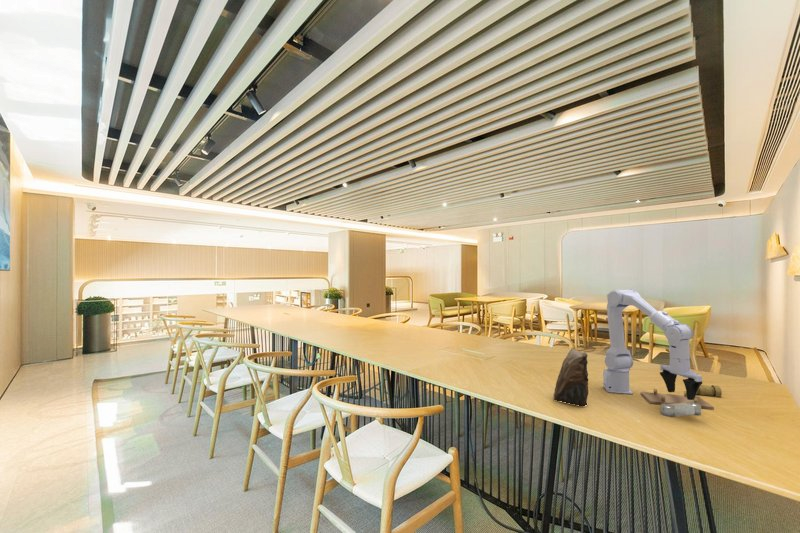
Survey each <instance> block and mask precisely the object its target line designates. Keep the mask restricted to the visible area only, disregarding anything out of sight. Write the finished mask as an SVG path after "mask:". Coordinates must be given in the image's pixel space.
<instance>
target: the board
mask: <svg viewBox="0 0 800 533" xmlns="http://www.w3.org/2000/svg"><path fill="white" fill-rule="evenodd" d="M639 394H640V395H641V396H642V397H643V398H644V399H645V400H646V402H647V403H648V404H650V405H660V406H661V404H676V403H687V402H694V403H698V404H700V405H701V410H704V409H705V410H711V411H712V410H713V411H714V410H715V407H714V406H713V405H711V404H710V403H709V402H708V401H706V400H704V399H703V398H701V397H700V396H697V395H695V399H694V400H688V399H687V395H686V390H685V391H683V394H672V393H660V392H658V389H657V388H653V392H647V391H640V393H639Z"/></svg>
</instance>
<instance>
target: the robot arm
mask: <svg viewBox="0 0 800 533" xmlns="http://www.w3.org/2000/svg"><path fill="white" fill-rule="evenodd" d="M606 295H607V296H606V297H607V303H606V313H607V324H608V326H607V327H608V334H609V344H610V347H609V348H608V349H607V350H606V351H605V357H604V364H605V366H606V367H607V368H604V369H603V371H602V373H603V374H602V375H603V377H602V378H603V382H602V383H603V388H604V389H605V391H606V392H608V393H616V394H626V395H627V394H629V395H633V394H634V393H633V391H632V390H631V388H630V371H631V368H633V367H634V359H633V357H632V355H631V351H630V350H629V349H628V348H627V347H626V340H625V331H624V321H623V320H624V319H623V311H624V310H625V309H626V308H627V307H629V306H633V307H635V308H636V309H638V310H640V311H641V312H642V313H643V314H645V315H646V316H648V317H649V320H650V322H651V323H652V324H653V325H655V326H656V327H658V329H660V330H661V331H663V332H664V336H665V338H666V339H667V343H668V346H669V347H668V348H669V350H668V352H669V365H666V364H660V365H659V366H660V367H659V368H660V372H659V375H660V376H661V378H662V379H663V381H664V383H665V387H666V391H667V392H668V393H675V391H676V380H677V376H679V377H682V382H683V384H684V387H685V391H686V395H687V399H688V400H694V399H695V396H697V395H696V392H697V390H698V388H699V387H700V385H703V376H702V375H701V374H698V373H695V372H693V370H692V369H691V356H690V355H691V354H690V353H691V352H690V350H691V349H690V340H691V339H692V338H693V336H694V332H693V329H692V327H690V326H689V325H688V324H685V323H680V321H679V320H677V319H674V318H673V317H672V316H670V315H669V313H668V312H667V311H664V310H657V309H656V308H654V307H653V306H652V305H651V304H650V303H648V302H647V301H646V300H645V299H644V298H643V297H642V296H641V294H640V293H639V292H638V291H636V290H635V289H632V288H631V289H612V290H610V292H608V294H606ZM683 378H684V379H683Z"/></svg>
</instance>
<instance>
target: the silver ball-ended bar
mask: <svg viewBox="0 0 800 533" xmlns="http://www.w3.org/2000/svg"><path fill="white" fill-rule="evenodd" d="M660 414H661V415H662V416H665V417H668V418H675V417H681V416H682V417H683V416H701V415H702V409H701V405H700V404H698V403H694V402H687V403H676V404H661V405H660Z"/></svg>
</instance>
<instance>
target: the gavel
mask: <svg viewBox="0 0 800 533" xmlns="http://www.w3.org/2000/svg"><path fill="white" fill-rule="evenodd" d="M697 395H699V396H710V397H711V396H713V397H716V398H721V397H722V395H723V391H722V389H721V387H720V386H719V385H714V384H713V385H708V384H706V385H705V384H701V385H700V387H699V388H698V390H697V392H696V395H695V396H697Z"/></svg>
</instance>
